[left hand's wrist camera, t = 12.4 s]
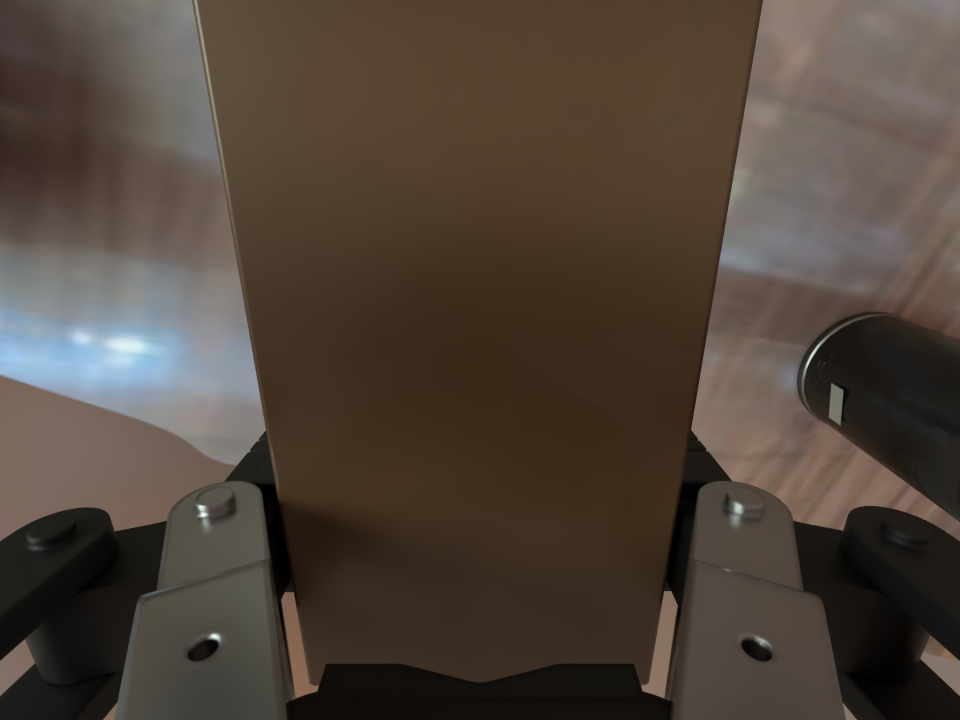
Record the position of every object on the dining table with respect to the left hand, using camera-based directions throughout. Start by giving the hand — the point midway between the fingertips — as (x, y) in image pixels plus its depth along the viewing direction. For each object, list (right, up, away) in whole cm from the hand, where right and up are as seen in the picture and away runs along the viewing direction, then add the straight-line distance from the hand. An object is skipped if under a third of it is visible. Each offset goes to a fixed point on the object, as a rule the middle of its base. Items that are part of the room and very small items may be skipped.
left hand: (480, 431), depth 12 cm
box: (0, +10, +2) cm, 10 cm away
